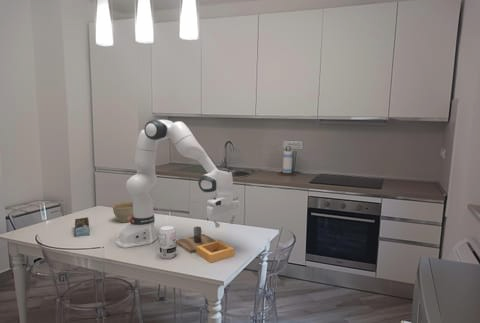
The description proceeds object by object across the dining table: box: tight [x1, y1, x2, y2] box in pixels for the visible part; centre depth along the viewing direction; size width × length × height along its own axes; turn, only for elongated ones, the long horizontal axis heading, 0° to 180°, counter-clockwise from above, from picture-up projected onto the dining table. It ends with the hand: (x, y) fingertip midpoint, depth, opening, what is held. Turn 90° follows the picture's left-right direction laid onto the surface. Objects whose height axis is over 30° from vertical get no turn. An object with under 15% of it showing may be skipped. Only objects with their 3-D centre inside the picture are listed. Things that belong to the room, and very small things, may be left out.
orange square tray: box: [195, 240, 235, 264], centre depth 176 cm, size 14×14×4 cm
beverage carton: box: [74, 217, 91, 238], centre depth 211 cm, size 8×19×7 cm, turn 25°
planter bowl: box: [112, 201, 133, 223], centre depth 233 cm, size 16×16×11 cm
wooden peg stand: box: [176, 226, 217, 254], centre depth 190 cm, size 18×18×10 cm
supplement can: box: [158, 224, 177, 260], centre depth 174 cm, size 8×8×15 cm
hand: (225, 225), depth 178 cm, fingers open, 8 cm apart
